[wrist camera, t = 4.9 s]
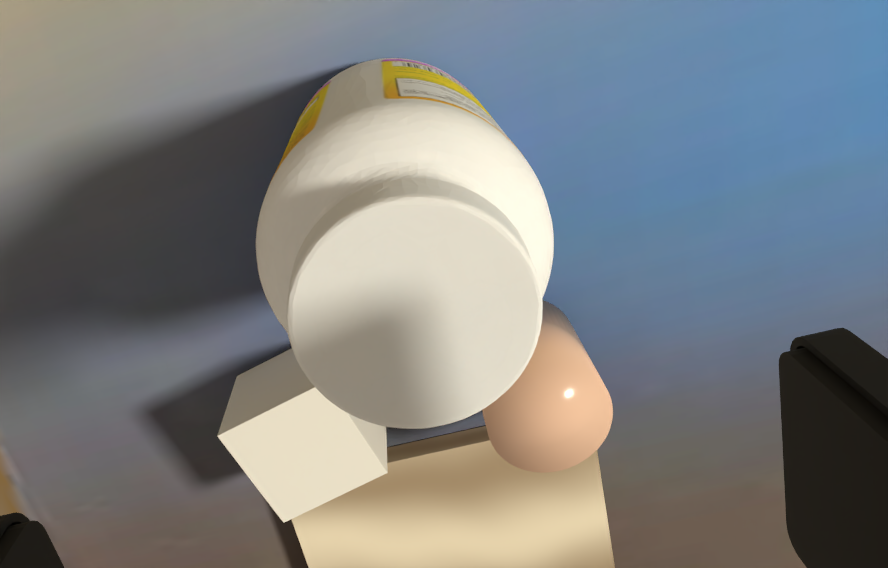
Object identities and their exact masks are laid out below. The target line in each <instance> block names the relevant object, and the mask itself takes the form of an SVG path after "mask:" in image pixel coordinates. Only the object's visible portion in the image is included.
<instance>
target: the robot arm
mask: <svg viewBox="0 0 888 568" xmlns="http://www.w3.org/2000/svg"><path fill="white" fill-rule="evenodd" d="M779 378H780V399H781V419H782V440H783V461H784V481H785V502H786V523H787V530H788V534H789V537H790V540H791V543H792V545H793V547H794V549H795V551H796V553H797V554H798V556H799V558H800V559H801V560H802V562H803V563H804V564H805V566H806V567H807V568H888V359H887V358H886V357H884V356H883V355H882V354H880V353H879V352H877V351H876V350H875V349H873V348H872V347H871V346H869V345H868V344H867V343H865V342H864V341H862V340H861V339H860V338H858V337H857V336H856V335H854V334H853V333H852V332H850V331H849V330H847V329H844V328H837V329H833V330H828V331H824V332H819V333H815V334H810V335H806V336H801V337H797V338H795V339H794V340H793V341H792V344H791V347H790V351H788V352H784V353H782V354H781V356H780V359H779ZM0 568H64V566H63V564H62V562H61V560H60V558H59V556H58V554H57V552H56V550H55V548H54V546H53V544H52V542H51V540H50V538H49V536H48V534H47V532H46V530H45V528H44V527H43V525H42V524H40V523H39V522H38V521H29V519H28V518H27V517H26V516H24V515H23V514H21V513H11V514H7V515H2V516H0Z"/></svg>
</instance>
